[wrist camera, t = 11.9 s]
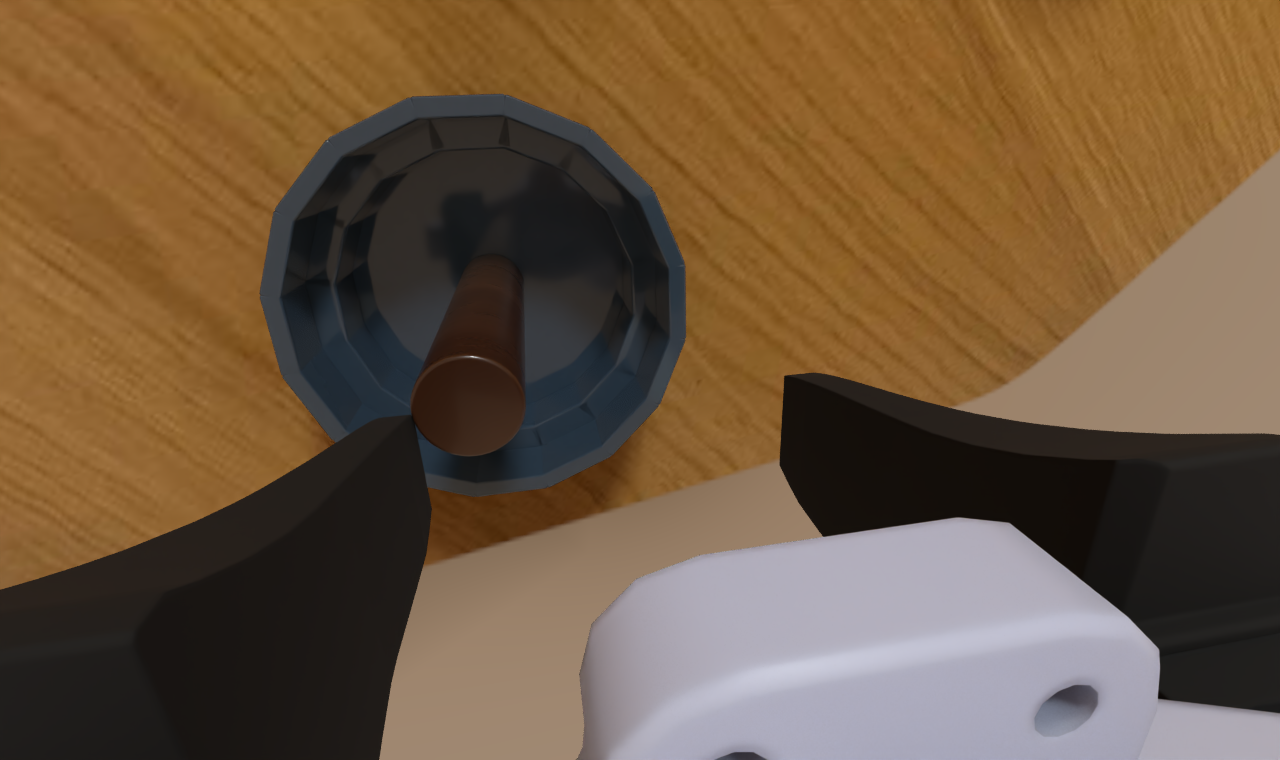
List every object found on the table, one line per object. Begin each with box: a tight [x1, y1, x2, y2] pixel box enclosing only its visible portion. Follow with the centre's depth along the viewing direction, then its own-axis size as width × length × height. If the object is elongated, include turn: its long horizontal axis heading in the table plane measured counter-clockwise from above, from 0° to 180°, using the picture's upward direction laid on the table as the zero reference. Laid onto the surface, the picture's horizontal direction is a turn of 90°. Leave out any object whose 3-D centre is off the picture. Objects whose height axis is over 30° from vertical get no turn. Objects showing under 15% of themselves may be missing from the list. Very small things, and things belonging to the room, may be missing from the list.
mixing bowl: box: [260, 94, 686, 497], centre depth 18 cm, size 11×11×4 cm
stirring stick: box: [410, 254, 526, 456], centre depth 15 cm, size 2×2×10 cm
